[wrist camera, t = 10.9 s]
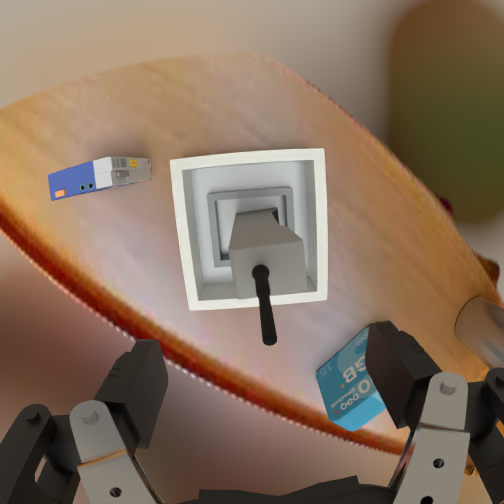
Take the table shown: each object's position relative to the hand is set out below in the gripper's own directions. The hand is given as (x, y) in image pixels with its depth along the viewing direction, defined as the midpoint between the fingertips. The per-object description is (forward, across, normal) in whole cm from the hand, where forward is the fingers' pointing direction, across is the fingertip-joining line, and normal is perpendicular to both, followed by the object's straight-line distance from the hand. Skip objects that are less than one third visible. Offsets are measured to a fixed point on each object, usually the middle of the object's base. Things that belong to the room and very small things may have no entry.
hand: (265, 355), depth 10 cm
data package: (+28, -14, +22) cm, 38 cm away
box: (+27, 0, 0) cm, 27 cm away
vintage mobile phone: (+26, -1, 0) cm, 26 cm away
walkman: (+27, +16, -8) cm, 33 cm away
